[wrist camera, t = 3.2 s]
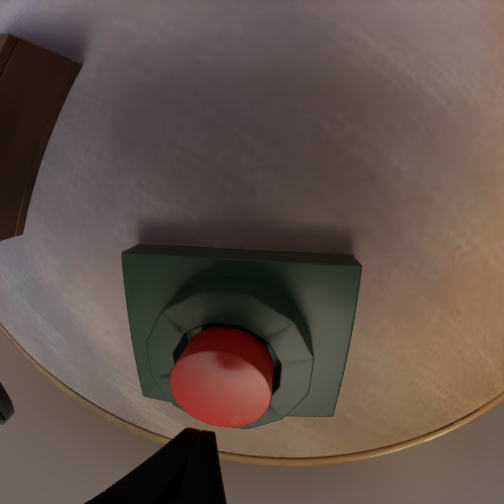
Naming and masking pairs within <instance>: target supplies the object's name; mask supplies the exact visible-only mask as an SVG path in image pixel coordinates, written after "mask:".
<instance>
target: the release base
mask: <svg viewBox="0 0 504 504" xmlns="http://www.w3.org/2000/svg"><path fill="white" fill-rule="evenodd" d="M121 255H122V267H123V278H124V287H125V296H126V304H127V311H128V318H129V325H130V332H131V338H132V344H133V349H134V355H135V360H136V365H137V370H138V375H139V380H140V384H141V389H142V393H143V396H144V397H149V398H153V399H158V400H162V401H167V402H172V404H173V405H175V406H176V407H178V408H180V409H181V410H183V411H185V410H184V409H183V408H182V407H181V406H180V405H179V404H178V403H177V401H176V400H175V398H174V396H173V394H172V392H171V388H170V374H171V371H172V369H173V367H174V365H175V363H176V362H177V360H178V358H179V357H180V355H181V353H182V352H183V350H184V348H185V347H186V345H187V343H188V342H189V341H190V339H191V338H192V337H193V336H194V335H196V334H197V333H199V332H201V331H203V330H206V329H208V328H213V327H232V328H236V329H240V330H243V331H245V332H247V333H249V334H251V335H253V336H254V337H256V338H257V339H258V340H260V341H261V342H262V343H263V344H264V345H265V347H266V348H267V349H268V351H269V353H270V354H271V357H272V360H273V364H274V374H273V386H272V397H271V403H270V405H269V408H268V409H267V411H266V412H265V413H264V415H263V416H261V417H260V418H259V419H258V420H256V421H254V422H252V423H250V424H247V425H244V426H239V427H232V428H241V429H250V428H253V427H257V426H261V425H264V424H268V423H271V422H275V421H278V420H281V419H283V418H284V417H285V416H303V417H332V416H333V414H334V411H335V407H336V403H337V399H338V395H339V391H340V387H341V383H342V378H343V374H344V370H345V365H346V360H347V356H348V351H349V346H350V340H351V335H352V330H353V324H354V318H355V312H356V306H357V300H358V293H359V286H360V279H361V271H362V265H361V264H360V262H359V261H358V260H357V259H356V258H355V257H354V256H353V255H344V254H325V253H305V252H285V251H265V250H245V249H225V248H204V247H184V246H163V245H142V244H138V245H136V246H134V247H132V248H130V249H127V250H125V251H123V252H122V254H121ZM185 412H186V411H185Z"/></svg>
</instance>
